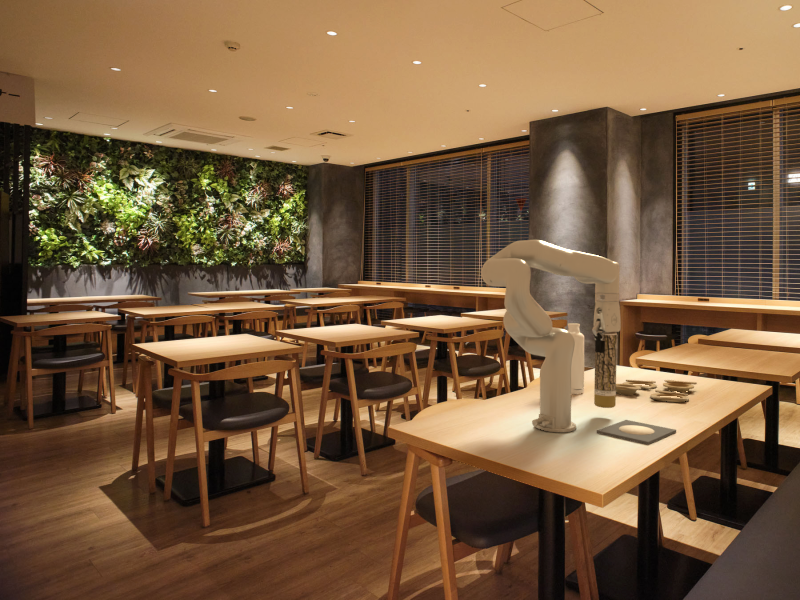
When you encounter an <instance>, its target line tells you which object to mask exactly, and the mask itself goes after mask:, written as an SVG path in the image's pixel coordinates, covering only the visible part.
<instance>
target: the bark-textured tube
mask: <svg viewBox="0 0 800 600" xmlns="http://www.w3.org/2000/svg"><path fill="white" fill-rule="evenodd" d="M600 335H602V334H600ZM617 337H618V335H617V333H615V332H612V333H605V337H604V340H603V341H605V352H604V353H600V352H595V351H594V391H593V392H594V393H593V394H594V396H593V397H594V398H593V399H594V400H593V401H594V403H593V405H594V406H595V407H597V408H601V409H602V408H603V409H611V408H612V409H613V408H614V407H615V406H616V400H617V399H616V398H617V396H616V395H617V393H616V384H617V355H618V354H617V352H618V351H617V350H618V349H617V348H618V344H617V343H618V338H617Z"/></svg>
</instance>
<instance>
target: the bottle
mask: <svg viewBox="0 0 800 600" xmlns="http://www.w3.org/2000/svg"><path fill="white" fill-rule="evenodd" d="M580 326H581V323H576V322H573V323H567V328H568V329H567V331H568V332H570V333H571V334H572V336H573V337H574V341H575V347H574V352H573V357H572V365H571V395H582V394H581V393H583V394H584V393H585V335H584V334H583V333H582V332H581V330H580Z"/></svg>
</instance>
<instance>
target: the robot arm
mask: <svg viewBox="0 0 800 600" xmlns="http://www.w3.org/2000/svg"><path fill="white" fill-rule="evenodd" d="M531 268H533V269H537V270H541V271H543V272H547V273H550V274H553V275H556V276H561V277H563V276H564V277H572V278H573V277H574V279H575V280H576V281H577V282H579V283H582V284H588V285H589V284H592V285H593V284H595V286H594V287H595V289H594V293H595V294H594V295H595V296H594V303H595V305H594V315H593V327H592V329H591V331H592V334H593V336H594V340H595V341H594V342H595V344H594V346H595V347H594V353H595V352H600V353H604V352H605V341H603V340H604V337H605V333H612V332H615V333H617V339H618V335H619V332H620V331H621V330H622V329H621V327H622V324H621V321H622V320H621V318H622V317H621V308H620V303H619V302H620V264H619V262H617V261H613V260H611V259H610V258H606V257H603V256H599V255H596V254H592V253H588V252H587V253H586V252H582V251H577V250H572V249H567V248H564V247H561V246H559V245H555V244H553V243H550V242H547V241H545V240H542V239H541V240H540V239H527V240H524V239H523V240H517V241H513V242H512V243H509V244H507V246H505V247H504V248H502V249H501V250H500V251H498V252H497V253H495V254H494V255H493V256H491V257H490V258H489V259H487V260H486V261H485V262H484V264H483V265H482V267H481V272H480V273H481V274H480V275H481V278H482V280H483V282H484V283H485V284H486V285H488V286H490V287H501V288H503V287H505V294H504V301H503V302H504V305H503V306H504V309H505V310H506V311H505V313H504V315H503V318H502V319H503V320H502V322H503V326H504V329H505V331H506V333H507V334H508V335H509V336H510V337H511V338H512V339H513V341H515V342H516V343H517V344H518V345H519V346H520V347H521V348H522V349H523V350H524V351H525V352H527V353H528V354H529V355H533V356H539V357H544V361H543V363H542V364H541V367H540V369H539V370H540V371H539V413H538V418H536V419H533V420H532V421H531V424H532V426H534V427H535V428H536V429H538V430H540V429H541V431H543V430H544V432H549V433H570V432H572V431H573V432H574V431H576V429H577V424H576V423H575V422H573V421H572V394H571V365H572V357H573V352H574V347H575V341H574V337H573V336H572V334H571V333H570V332H568V329H567V330H566V329H565V328H559V327H553V321H552V319H551V316H550V315H549V314H548V313H547V311H546V310H544V308H543V307H542V306H541V305H540V304H539V303H538V302H537V301H536V300H535V299H534V297H533V296H532V295H531V292H530V290H531V289H530V287H531V286H530V285H531V284H530V283H531V278H532V276H531V275H532V273H531V270H532V269H531ZM600 334H602V335H600Z"/></svg>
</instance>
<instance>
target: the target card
mask: <svg viewBox="0 0 800 600" xmlns="http://www.w3.org/2000/svg"><path fill="white" fill-rule="evenodd" d="M599 433H600V434H601V435H605V436H608V437H612V436H613V438H617V439H621V438H622V440H627V441H630V440H631V442H634V441H635V442H636V443H640V444H644V445H651V444H653V443H655V442H657V441H658V442H659V440H663V439H664V438H667V437H669V436H671V435H673V434H676V433H677V429H674V428H668V427H666V426H665V427H664V426H660V425H653V424H649V423H643V422H639V421H635V420H634V421H633V420H628V419H623V420H621V421H619V422H616V423H613V424H611V425H608V426H605V427H602V428H599V429H597V430H596V434H599ZM600 434H599V435H600Z"/></svg>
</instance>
